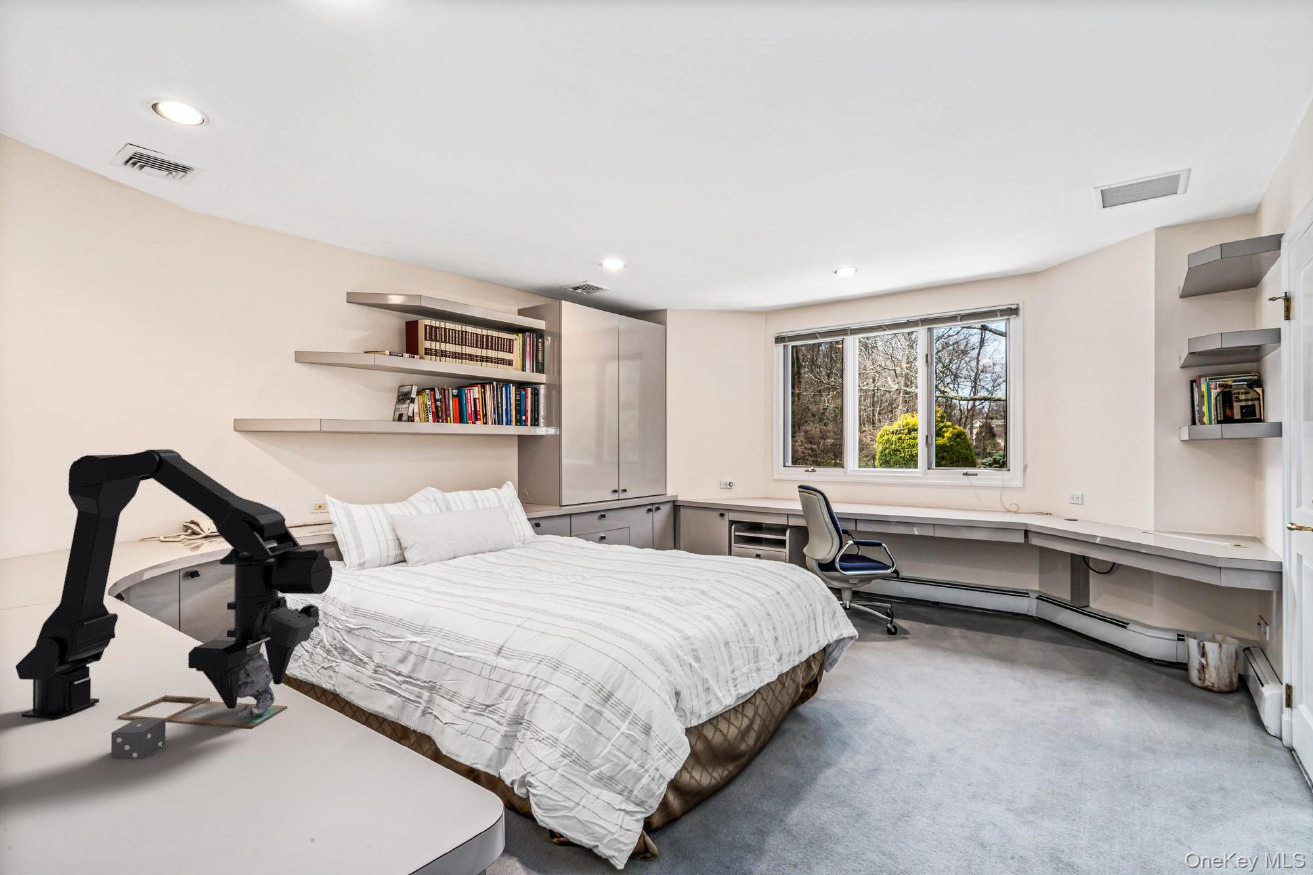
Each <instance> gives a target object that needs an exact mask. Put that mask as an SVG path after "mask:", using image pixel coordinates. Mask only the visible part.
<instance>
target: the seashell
mask: <svg viewBox="0 0 1313 875" xmlns="http://www.w3.org/2000/svg"><path fill="white" fill-rule="evenodd" d="M243 662H246V663H248V664H247V665H246V666H245V667H244V668H243V670H242V671H241V672H240V674H239V686H238V698H239V699H244V698H247V697H250V698H253V699H254V700H255V701H256V702H255V704H256V706H255V707H253V708H252V707H250V705H246V706H245V708H244V709H243V710H241V711H240V712H238V713H237V717H238V718H249V717H253V716H257V715H259V714H262V713H265V712H266V711H267V710H268V709H269V708H270V707H271V705H274V703H275V700H276V699H275V695H274V691H273V689H272V688H271V686H270V684H271V683H272V682H273V679H272V677H273V676H272V673H271V671H270V668H269V662H268V659H266V658H265V654H264V653H262V652H260V651H259V652H256V651H254V650H253V649H251V650H250V651H249V652H247V656H246V657H245V659H244V661H243Z"/></svg>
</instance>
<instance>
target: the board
mask: <svg viewBox="0 0 1313 875" xmlns="http://www.w3.org/2000/svg"><path fill="white" fill-rule="evenodd" d="M246 705H250V707H252V708H253V707H255V706H256V703H245V702H242V703H241V702H237V704H236V707H235V708H234V709H229V708H227V707H226V705H225V703H224V702H223V701H211V700H210V701H207V702H205V703H202V704H200V705H198V706H196V707H194V708H192V709H190V710H188V711H186V712H184V713H182V714H180V715H178V716H176V717H174V718H172V719H169V720H168V722H167V723H179V724H189V725H203V724H204V725H205V726H216V727H217V726H219V727H220V726H221V727H234V728H249V729H254V728H256V727H257V726H259V725H261V724H263V723H264V722H266V721H267V720H269V719H271V718H273V717H274V716H276V715H278V714H280V713H281V712H283V711H285V710H286V709H288V705H278V704H277V705H275V704H272V705H271V707H270V708H269V709H268V710H267V711H266V712H265V713H262V714H259V715H257V716H253V717H249V718H238V717H237V713H238V712H240V711H241V710H243V709H244V708H245V706H246ZM204 725H203V726H204Z"/></svg>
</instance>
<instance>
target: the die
mask: <svg viewBox="0 0 1313 875" xmlns="http://www.w3.org/2000/svg"><path fill="white" fill-rule="evenodd" d="M166 723H167V722H166V719H135V720H131V721H129V722H128V723H125V724H124V725H122V726H120V727H119V728H117V729H116V730H113V731H112V732H111V737H110V738H111V740H110V742H111V743H110V744H111V745H110V747H111V748H110V749H111V752H110V753H111V754H110V756H111V758H110V759H113V760H114V759H115V760H116V759H119V760H121V759H123V760H125V759H127V760H130V759H131V760H143V759H145V758H147V757H148V755H149V756H150V755H152V754H154V753H155V752H157V751H159V750H160V749H162V748H161V746H164V745H165V746H166ZM165 746H164V747H165ZM159 748H160V749H159ZM158 749H159V750H158ZM156 750H157V751H156ZM153 752H154V753H153Z"/></svg>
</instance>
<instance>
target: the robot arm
mask: <svg viewBox="0 0 1313 875" xmlns="http://www.w3.org/2000/svg"><path fill="white" fill-rule="evenodd" d="M152 479H153V480H154V481H155V482H157V483H158V484H160V485H161V486H162V487H164V488H166V489H167V490H169V491H170V492H172V493H173V494H174V495H176V496H177V497H179V498H181V499H182V500H183V501H184V502H186V503H188V504H189V506H192V507H193V508H195V509H196V510H198V512H200V513H202V514H203V515H205V516H206V517H208V518H209V519H210V520H211V521H212V522H213V524H214V526H215V529H216V531H217V534H219V536H220V537H221V538H222V539H224V540H225V541H226V543H227V544H229V545H230V546H231V547H232V548H231V550H230V551H229V552H228V553H227V554H226V555H225V556H224V557H222V558H221V559H219V564H220V565H223V566H226V565H229V566H232V565H233V566H234V573H233V574H234V577H233V579H234V583H233V585H234V589H233V590H234V591H233V593H234V594H233V601H228V602H226V609H227V611H228V610H229V611H230V610H231V611H233V628H230V629H227V630H226V638H234V640H225V639H222V640H221V639H212V640H210V641H207V642H205V643H201V644H199V645H197V646H194V647H192V649H191V650H190V651H189V652H188V655H187V656H188V657H187V658H188V659H187V660H188V662H187V664H188V665H187V666H188V668H187V669H195V671H197V672H203V674H204V676H205V677H206V678H207V679H208V680H209V681H210V684H212V686H213V687H214V689H215V691H216V692H217V694H218V695H219V696H220V698H221V700H222V702H224V703H225V705H226V707H227V708H229V709H234V708H235V707H236V704H237V703H238V698H239V697H238V686H239V674H240V672H241V671H242V670H243V668H244V667H245V666H246V665H247V664H248V663H246V662H243V661H244V659H245V657H246V656H247V654H248V650H249V649H251V648H254V647H256V646H257V647H258V646H259V645H261V644H263V643H264V647H265V651H266V656H267V661H268V665H269V666H268V668H269V671H271V673H272V676H273V677H272V682H273V684H274V685H276V686H279V685H281V684H282V683H283V681H284V678H285V675H286V672H287V669H288V666H289V664H290V661H291V658H292V655H293V653H294V652H295V648H296V647H298V646H299V645H300V643H303V642H307V641H309V640H310V638H311V634H312V633H313V632H314V629H316V628H318V627H319V626H320V622H319V620H320V610H319V606H317V605H315V604H313V603H310V604H308V605H304V606H303V607H301V609H300V610H299V608H294V609H291V608H288V605H287V599H286V596H279V593H280V594H286V595H287V594H289V595H291V594H292V595H322V594H324V593H326V591H327V590H328V589H329V586H330V585H331V582H332V578H333V567H332V566H331V561H330V560H329V558H328V557H327V556H325V549H324V548H323V547H320V548H319V547H316V548H310V549H307V548H306V549H303V548H302V546H301V544H300V543H299V541H298V540H297V539H296V537H295V536H294V535H293V533H292V532H291V530H290V529H289V528H288V526H287V525H286V517H285V516H284V515H283V514H282V513H281V512H280V511H279V510H276V509H274V508H272V507H270V506H268V505H265V504H263V503H260V502H257V501H253V500H250V499H246V498H243V497H241V496H239V495H237V494H236V493H234V492H233V491H231V490H230V489H229V488H228V487H225V486H224V485H222V484H221V483H219V482H218V481H216V480H215V479H214V478H213V477H211V476H209V475H208V474H207V473H205V472H204V471H202V470H201V469H199V468H197V466H194V465H193V464H192V463H190V462H189V461H188V460H186V459H185V458H183V456H182V455H181V454H180V453H179V452H177V450H176V451H175V450H173V449H167V448H166V449H165V448H164V449H146V450H144V451H141V452H134V453H129V454H128V453H127V454H86V455H84V456H81V457H79V458H78V459H76V460H74V461H73V462H72V463H71V464H70V468H69V469H68V491H67V492H68V495H69V497H70V499H71V502H72V503H73V504H74V507H75V509H76V510H77V514H76V515H77V516H76V520H75V525H74V530H73V535H72V539H71V547H70V551H69V556H68V560H67V567H66V572H65V577H64V583H63V587H62V592H61V593H62V594H61V599H60V601H59V604H58V606H57V607H56V608H55V609H54V610H53V612H52V613H51V614H50V615H49V616H48V617H47V618H46V619H45V621H44V622H43V624H42V626H41V629H40V631H39V634H38V637H37V639H36V642H35V646H34V647H33V648H32V649H31V650H30V651H29V652H28V653H27V654H26V655H25V656H24V657H23V658H22V659H21V660H20V661H19V662H18V663H17V664H16V665H15V670H16V673H17V676H18V678H19V680H27V681H28V680H30V681H31V680H32V708H31V709H29V710H26V711H24V712H21V716H20V717H21V718H22V717H23V718H32V719H33V718H34V719H48V720H49V719H50V720H58V719H61V718H63V717H66V716H68V715H71V714H74V713H77V712H78V711H81V710H84V709H86V708H88V707H90V706H93V705H96V704H97V703H100V698H91V694H92V692H91V691H92V687H91V686H92V678H91V676H90V670H91V669H90V666H88V665H90V664H93V663H95V662H100V661H101V660H102V658H103V655H104V652H105V649H106V648H108V646H109V645H110V643H111V640H113V639H116V632H115V631H116V624H117V623H118V620H119V617H118V614H117V613H113V612H109V610H108V608H107V607H106V605H105V603H104V599H105V594H106V589H107V588H106V587H107V584H108V578H109V573H110V568H111V564H112V563H111V562H112V556H113V552H114V547H115V542H116V537H117V532H118V527H119V520H120V515H121V513H122V511H123V510H124V509H126V507H127V506H128V504H129V503H130V502H131V501H132V499H133V498H134V497H136V494H137V492H138V489H139V486H140V484H141V481H147V480H152Z"/></svg>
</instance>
